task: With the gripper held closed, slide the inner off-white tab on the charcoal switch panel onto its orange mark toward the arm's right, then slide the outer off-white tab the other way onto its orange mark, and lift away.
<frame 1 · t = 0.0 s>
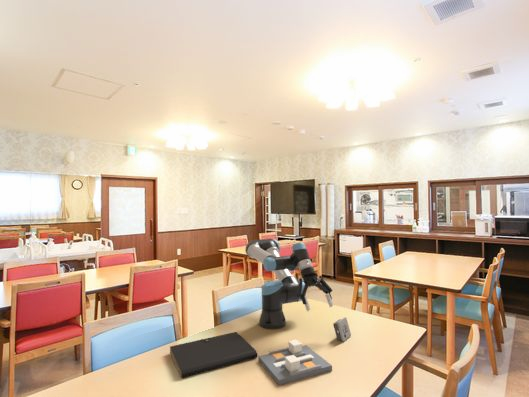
hand: (320, 308, 152), 15 cm above the table, tool tilted 35°, fingers open, 13 cm apart
outer tab: (292, 363, 120), point 4 cm above the table, slide at 0.0 cm
switch panel: (294, 365, 127), on the table
inner tab: (295, 347, 134), point 4 cm above the table, slide at 0.0 cm
electrical switch: (342, 338, 153), on the table
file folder: (212, 357, 137), on the table
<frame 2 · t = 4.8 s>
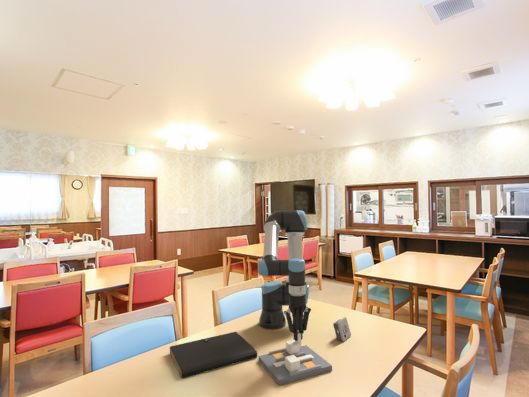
hand: (298, 347, 135), 4 cm above the table, tool pointing down, fingers closed
inner tab: (292, 347, 134), point 4 cm above the table, slide at 1.2 cm, touching gripper
everything else where it was.
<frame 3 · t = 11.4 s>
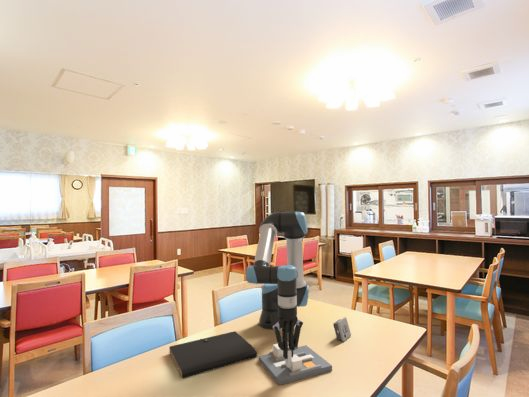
hand: (288, 365, 119), 4 cm above the table, tool pointing down, fingers closed
outer tab: (294, 363, 121), point 4 cm above the table, slide at 1.0 cm, touching gripper
inner tab: (279, 350, 131), point 4 cm above the table, slide at 7.7 cm
everything else where it was.
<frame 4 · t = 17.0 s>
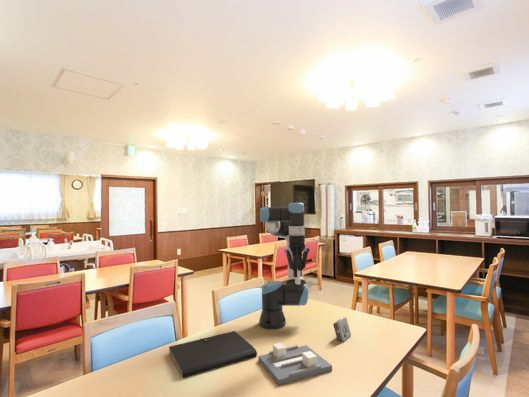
hand: (297, 283, 146), 29 cm above the table, tool pointing down, fingers closed
outer tab: (309, 359, 123), point 4 cm above the table, slide at 8.0 cm
everything else where it was.
at the end: inner tab slide at 7.7 cm; outer tab slide at 8.0 cm; electrical switch moved 0.3 cm from its start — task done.
